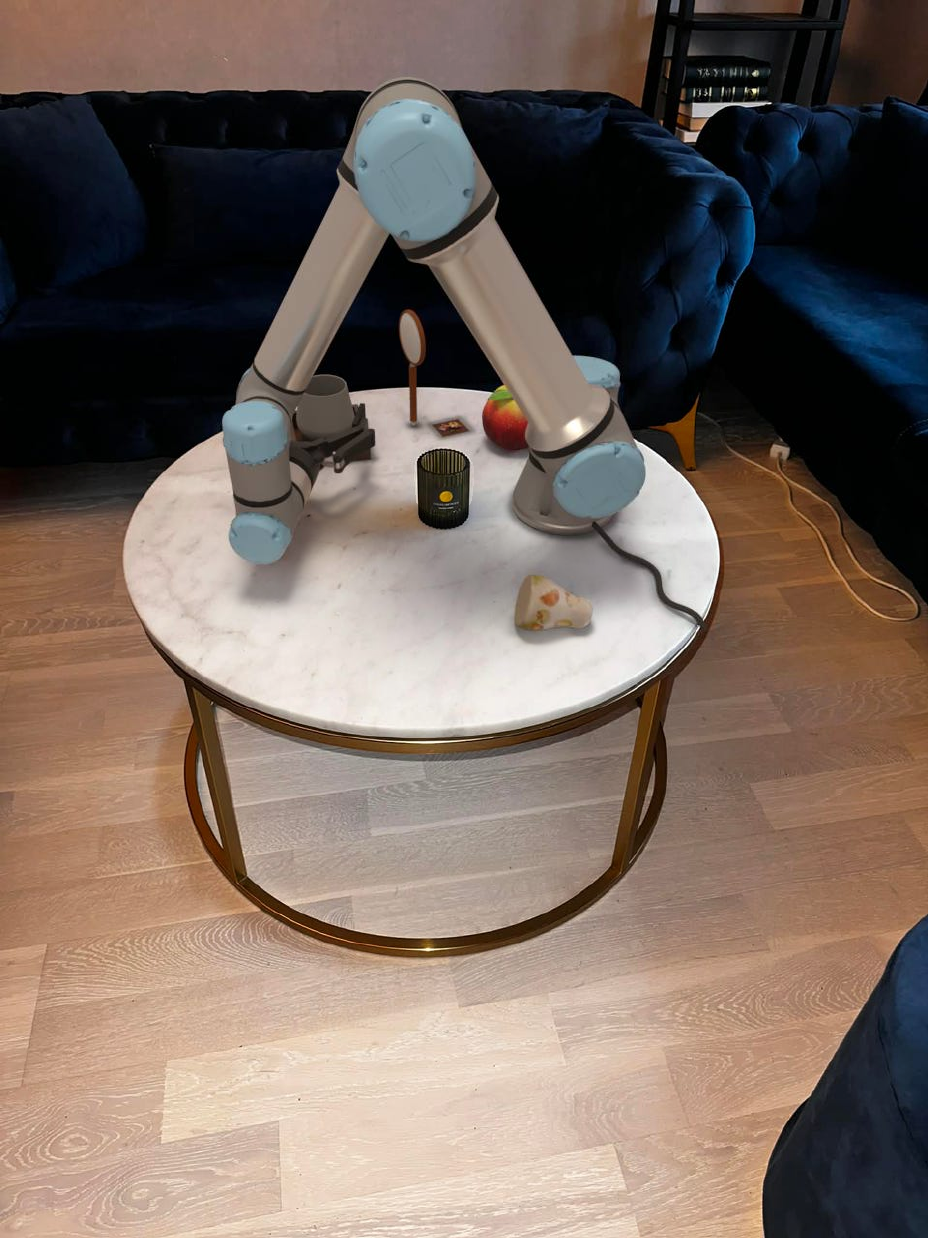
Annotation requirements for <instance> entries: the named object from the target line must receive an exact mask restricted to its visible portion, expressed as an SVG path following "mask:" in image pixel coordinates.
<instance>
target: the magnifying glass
mask: <svg viewBox="0 0 928 1238" xmlns="http://www.w3.org/2000/svg"><path fill="white" fill-rule="evenodd" d="M398 336H399V341H400V344H401V348H402V352H403V354H404V356H405V358H406V360H407V361H408V362H409V365H408V388H409V390H408V391H409V421H410V422H411V423H410V424H411V426H413V427H415V426H416V425H417V421H418V396H417V395H418V394H417V392H418V390H417V366H420V365H422V364H423V362H424V361H425V357H426V351H427V349H426V348H427V345H426V343H427V342H426V337H425V332H424V328H423V325H422V323H421V320H420V318H419V316H418V315H417V314H416V312H415V311H414V310H412V309H404V311H402V312H401V313H400V316H399V321H398Z"/></svg>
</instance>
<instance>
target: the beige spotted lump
mask: <svg viewBox="0 0 928 1238" xmlns="http://www.w3.org/2000/svg"><path fill="white" fill-rule="evenodd" d="M593 610H594V608H593V603H591V602H590V600H589V599H588V598H585V597H582V596H578V595H575V594H572V593H570V592H569V591H567V590H565V589H564V588H563V587H561V586H560V585H559V584H557V583H556V582H554V581H553V580H552V579H550V578H549V577H546V576H544V575H541V574H527V575H526V576H525V577H524V578H523V581H522V582H521V584H520V587H519V590H518V592H517V597H516V602H515V607H514V624H515V626H517V627H518V628H521V629H524V630H527V631H543V630H548V629H553V628H559V627H568V628H575V629H584V628H585V627H586V626H588V625H589V624H590V622H591V619H592V617H593V612H594V611H593Z"/></svg>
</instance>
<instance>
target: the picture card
mask: <svg viewBox="0 0 928 1238" xmlns="http://www.w3.org/2000/svg"><path fill="white" fill-rule="evenodd" d="M431 426H432V427H433V428H434V429H435V430H436V431H437V433H439V434H440V436H441V437H442V438H445V437H449V436H454V435H458V434H463V433H467V432H468V433H469V432H470V430H469V429H468V428H467V427H466V425H464V423H462V421H461V420H460V419H459V418H457V419H451V420H447V421H442V422H438V423H432V424H431Z"/></svg>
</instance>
